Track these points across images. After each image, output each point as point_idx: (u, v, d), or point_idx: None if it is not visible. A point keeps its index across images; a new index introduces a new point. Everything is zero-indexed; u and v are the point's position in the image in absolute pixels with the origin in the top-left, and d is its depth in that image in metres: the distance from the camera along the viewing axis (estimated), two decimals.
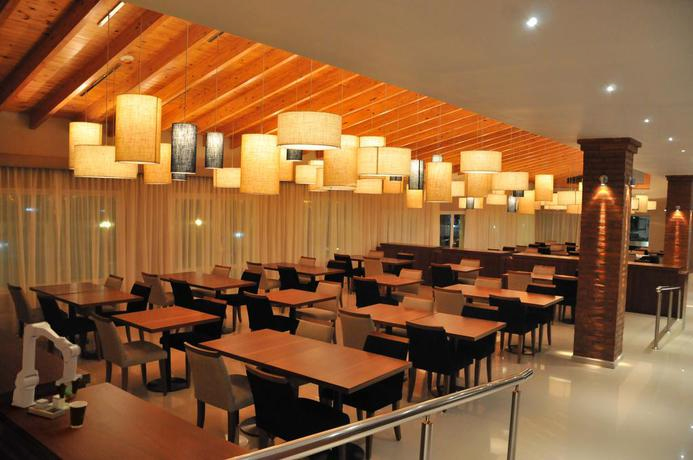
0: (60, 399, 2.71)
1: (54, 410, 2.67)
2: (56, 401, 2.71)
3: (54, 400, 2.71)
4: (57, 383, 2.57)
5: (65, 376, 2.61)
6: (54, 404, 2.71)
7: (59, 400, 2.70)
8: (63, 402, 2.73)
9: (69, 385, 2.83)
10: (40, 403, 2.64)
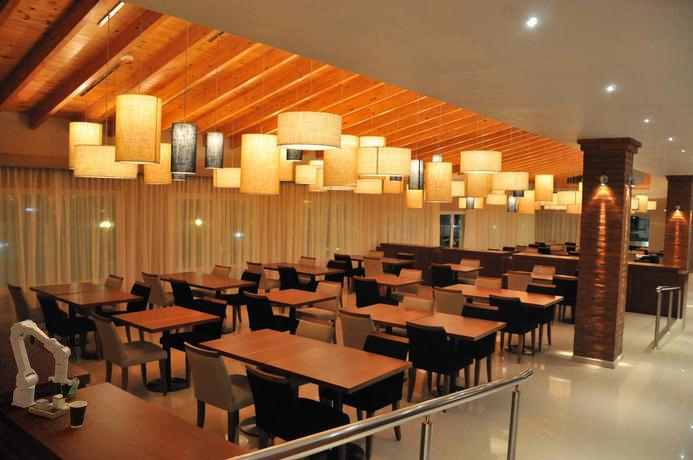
0: (60, 399, 2.71)
1: (54, 410, 2.67)
2: (56, 401, 2.71)
3: (54, 400, 2.71)
4: None
5: None
6: (54, 404, 2.71)
7: (59, 400, 2.70)
8: (63, 402, 2.73)
9: None
10: (40, 403, 2.64)
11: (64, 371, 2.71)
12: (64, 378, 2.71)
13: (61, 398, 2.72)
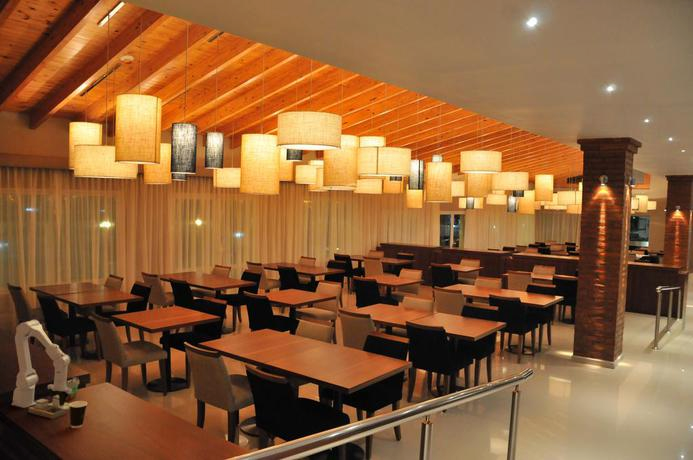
0: None
1: (54, 410, 2.67)
2: (56, 401, 2.71)
3: (54, 400, 2.71)
4: None
5: None
6: (54, 404, 2.71)
7: (59, 400, 2.70)
8: None
9: (69, 385, 2.83)
10: (40, 403, 2.64)
11: (63, 379, 2.71)
12: (63, 386, 2.71)
13: None
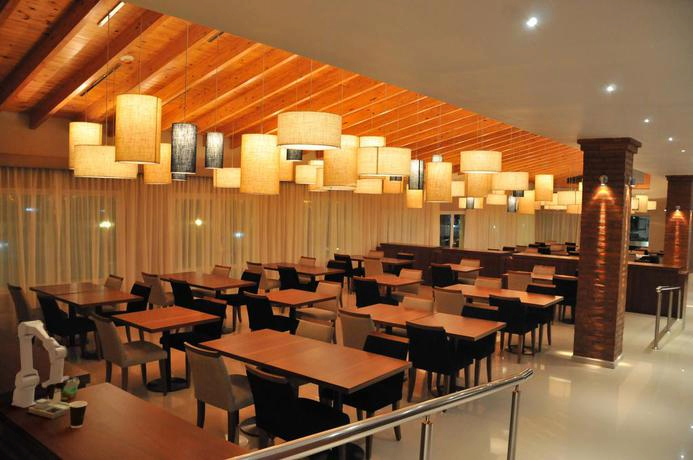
0: None
1: (54, 410, 2.67)
2: (58, 394, 2.63)
3: (56, 394, 2.62)
4: (43, 385, 2.56)
5: (52, 378, 2.60)
6: (56, 398, 2.62)
7: None
8: None
9: (69, 385, 2.83)
10: (40, 403, 2.64)
11: (57, 372, 2.61)
12: None
13: None
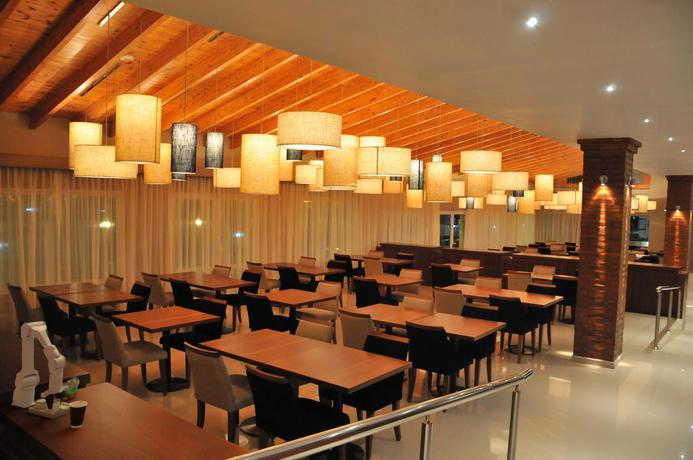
0: None
1: None
2: (57, 404, 2.63)
3: (55, 404, 2.62)
4: (42, 395, 2.56)
5: (51, 388, 2.60)
6: (55, 408, 2.62)
7: None
8: None
9: (69, 385, 2.83)
10: (40, 403, 2.64)
11: (56, 382, 2.61)
12: None
13: None
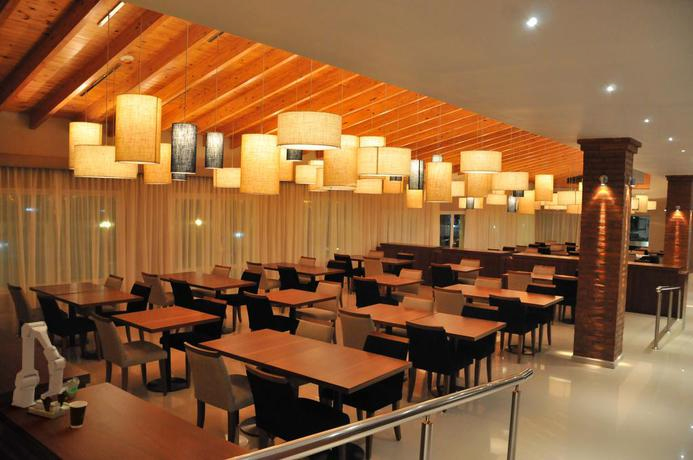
0: None
1: None
2: (57, 408, 2.63)
3: (55, 408, 2.62)
4: (42, 396, 2.56)
5: (51, 389, 2.60)
6: None
7: None
8: None
9: (69, 385, 2.83)
10: (40, 403, 2.64)
11: (56, 383, 2.61)
12: None
13: None
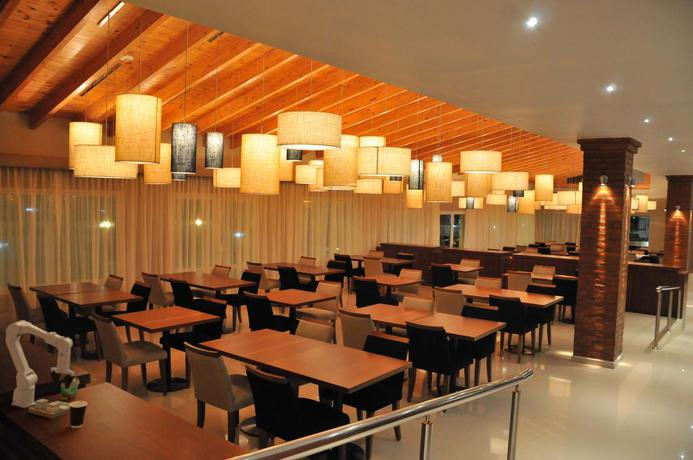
0: None
1: None
2: (57, 408, 2.63)
3: (55, 408, 2.62)
4: None
5: None
6: None
7: None
8: None
9: None
10: (40, 403, 2.64)
11: (67, 362, 2.73)
12: (66, 369, 2.73)
13: None
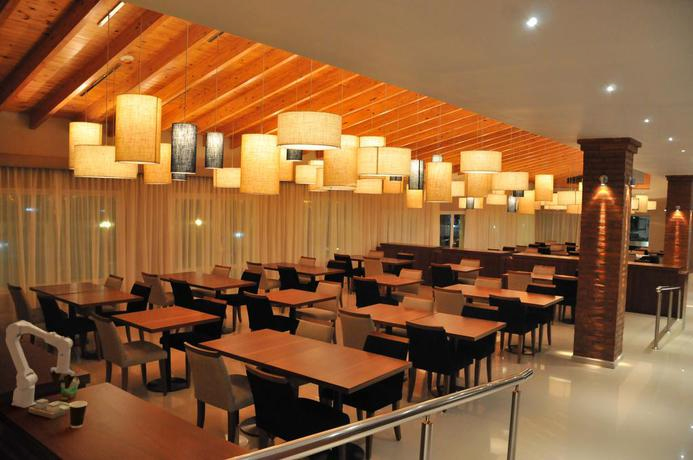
0: None
1: None
2: (57, 408, 2.63)
3: (55, 408, 2.62)
4: None
5: None
6: None
7: None
8: None
9: None
10: (40, 403, 2.64)
11: (67, 362, 2.73)
12: (66, 369, 2.73)
13: None
